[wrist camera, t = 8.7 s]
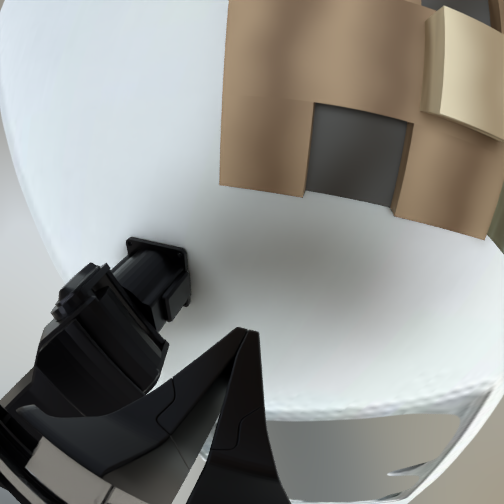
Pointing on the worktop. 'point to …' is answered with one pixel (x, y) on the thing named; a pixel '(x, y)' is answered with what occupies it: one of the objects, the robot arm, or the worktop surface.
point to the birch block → (464, 72)
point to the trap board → (354, 111)
